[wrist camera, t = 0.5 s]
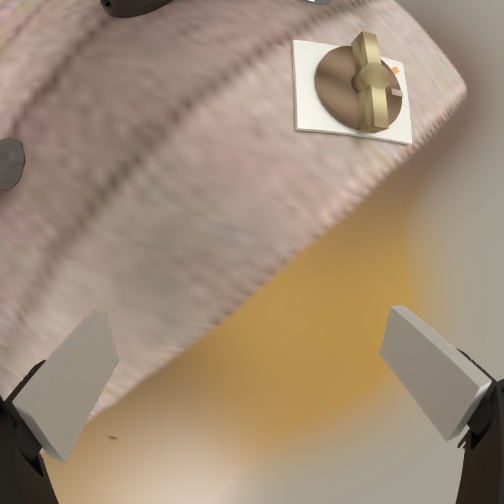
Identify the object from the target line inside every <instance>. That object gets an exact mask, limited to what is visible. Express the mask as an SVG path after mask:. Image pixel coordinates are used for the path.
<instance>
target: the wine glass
mask: <svg viewBox="0 0 504 504" xmlns="http://www.w3.org/2000/svg"><path fill="white" fill-rule="evenodd" d="M305 1H307V2H310V3H314V4H327V3H329V2H331V1H332V0H305Z"/></svg>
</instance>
